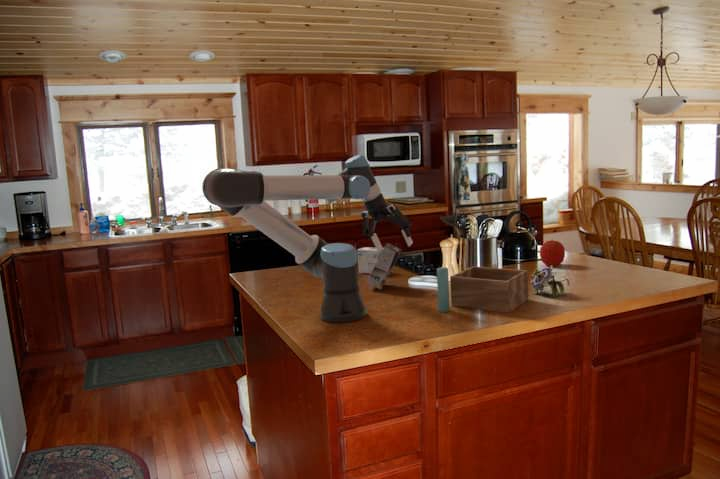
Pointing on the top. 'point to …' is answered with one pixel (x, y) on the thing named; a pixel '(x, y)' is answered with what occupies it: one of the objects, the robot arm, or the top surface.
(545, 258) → the red round piece
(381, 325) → the top surface
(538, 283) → the passion flower
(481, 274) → the crate
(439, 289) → the peg
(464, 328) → the top surface
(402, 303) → the top surface
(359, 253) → the light bulb box
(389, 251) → the coffee box
